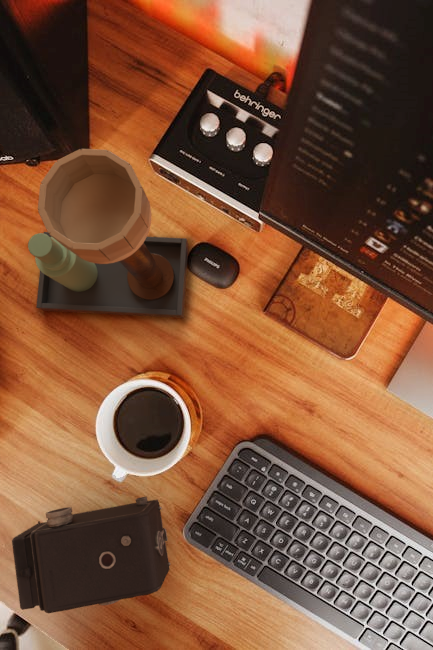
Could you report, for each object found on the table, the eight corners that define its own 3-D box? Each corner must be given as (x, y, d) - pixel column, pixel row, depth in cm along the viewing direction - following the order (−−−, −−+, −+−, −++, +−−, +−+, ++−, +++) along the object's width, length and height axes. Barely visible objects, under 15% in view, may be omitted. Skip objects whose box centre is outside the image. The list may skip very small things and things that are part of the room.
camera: (159, 478, 66) (31, 505, 65) (154, 492, 55) (-1, 526, 54) (176, 570, 65) (46, 600, 63) (175, 604, 53) (16, 642, 52)
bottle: (60, 291, 68) (15, 266, 54) (63, 255, 68) (19, 222, 55) (96, 292, 67) (60, 268, 54) (99, 257, 68) (64, 223, 54)
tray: (43, 310, 68) (36, 307, 66) (50, 237, 69) (43, 231, 67) (183, 318, 67) (181, 315, 65) (188, 243, 68) (186, 238, 66)
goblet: (119, 306, 67) (33, 247, 39) (123, 246, 68) (43, 146, 40) (180, 309, 67) (137, 252, 39) (184, 249, 67) (145, 150, 40)
